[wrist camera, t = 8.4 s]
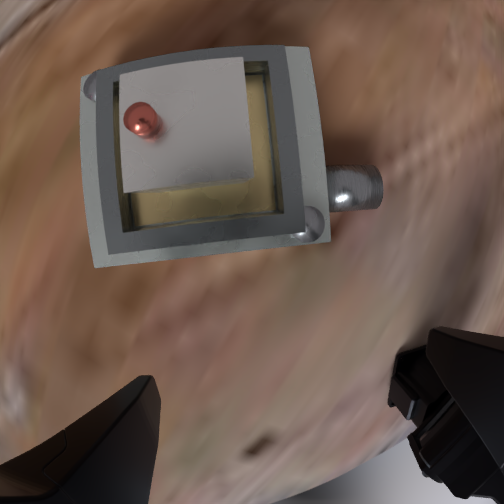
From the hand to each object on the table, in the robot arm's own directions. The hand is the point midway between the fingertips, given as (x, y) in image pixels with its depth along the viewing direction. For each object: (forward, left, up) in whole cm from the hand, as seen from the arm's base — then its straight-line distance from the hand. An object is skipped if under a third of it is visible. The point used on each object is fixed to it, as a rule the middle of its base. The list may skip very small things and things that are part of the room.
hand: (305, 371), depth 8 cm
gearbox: (+1, -8, -13) cm, 15 cm away
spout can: (+3, -8, -9) cm, 12 cm away
